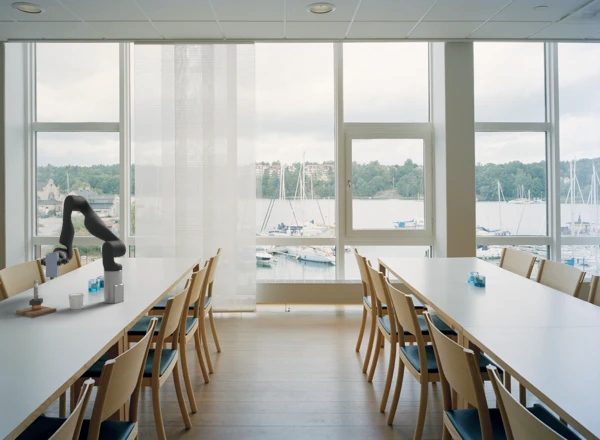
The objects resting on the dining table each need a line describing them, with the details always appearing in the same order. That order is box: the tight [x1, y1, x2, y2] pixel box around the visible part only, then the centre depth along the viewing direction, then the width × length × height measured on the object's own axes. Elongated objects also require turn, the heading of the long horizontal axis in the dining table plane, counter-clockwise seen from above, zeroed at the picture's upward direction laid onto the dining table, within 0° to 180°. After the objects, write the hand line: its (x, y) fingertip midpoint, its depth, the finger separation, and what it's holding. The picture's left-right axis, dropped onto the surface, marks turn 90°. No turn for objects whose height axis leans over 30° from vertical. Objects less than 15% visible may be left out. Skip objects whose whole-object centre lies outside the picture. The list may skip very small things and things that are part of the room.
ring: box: [28, 297, 44, 306], centre depth 207 cm, size 5×5×2 cm
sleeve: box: [45, 252, 60, 278], centre depth 221 cm, size 5×5×12 cm
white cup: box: [68, 292, 85, 310], centre depth 217 cm, size 7×7×7 cm
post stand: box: [15, 279, 58, 318], centre depth 207 cm, size 14×11×16 cm
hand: (51, 263), depth 218 cm, fingers closed on sleeve, 5 cm apart
